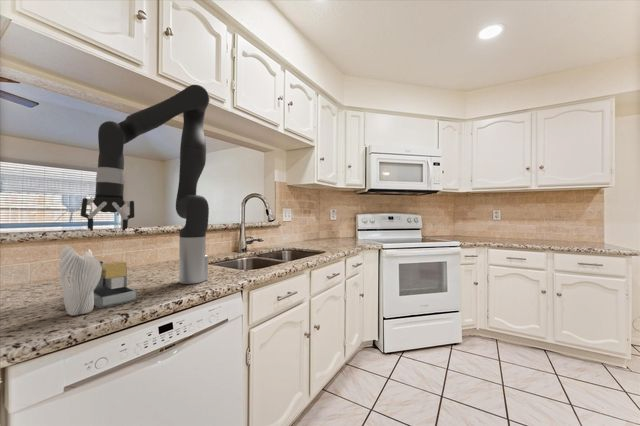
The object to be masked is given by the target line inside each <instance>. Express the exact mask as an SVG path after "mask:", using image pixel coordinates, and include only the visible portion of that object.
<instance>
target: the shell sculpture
mask: <svg viewBox="0 0 640 426" xmlns="http://www.w3.org/2000/svg"><path fill="white" fill-rule="evenodd" d="M93 254H94V253H93V251H92V250H91V249H90V248H88V249H87V251H85V253H82V254H78V252H77V251H76V250H75V249H74V248H73V247H72V246H70V245H65V247H64V248H63V249H62V250H61V251H60V254H59V256H60V257H59V258H60V262H59V268H58V273H59V280H60V286H61V289H62V297H63V304H64V308H65V312H66V313H67V314H68V315H69V316H73V317H74V316H77V315H84V314H88V313H90V312H92V311H93V310H94V306H95V305H94V292H93V290H94V289H95V288H96V286H97V284H98V282H99V280H100V277H101V271H102V267H101V264H100V262H99V261H100V260H98V259H96V258H94V255H93ZM69 276H70V277H69Z"/></svg>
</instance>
